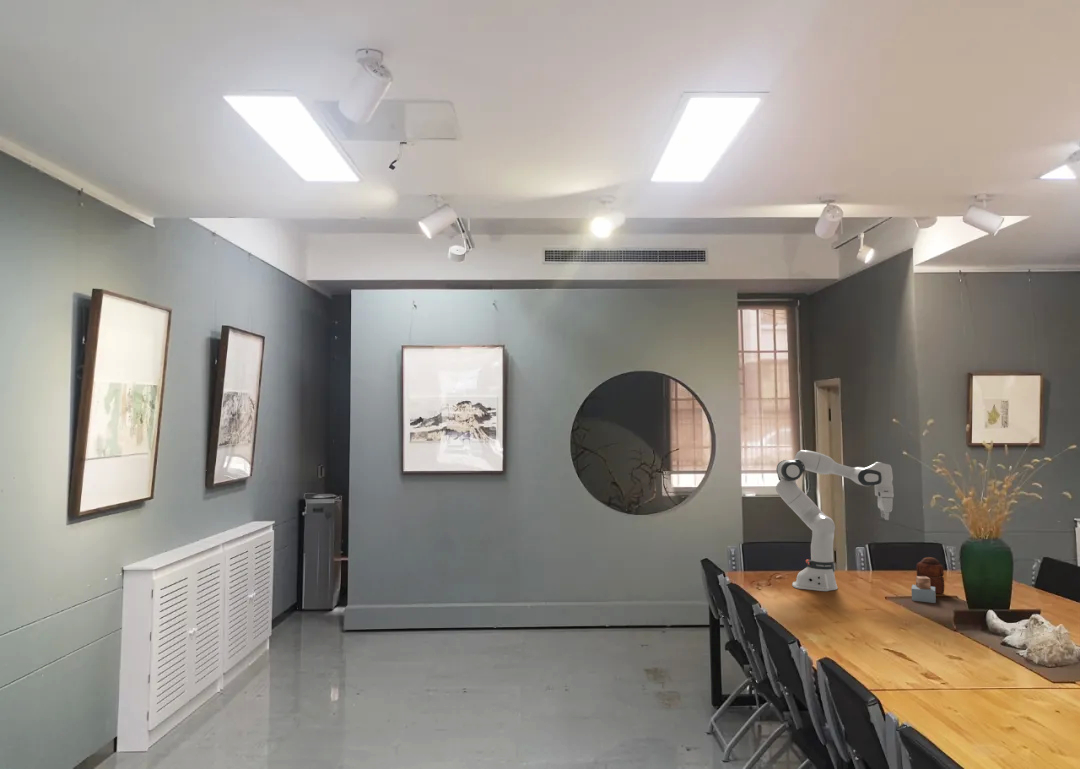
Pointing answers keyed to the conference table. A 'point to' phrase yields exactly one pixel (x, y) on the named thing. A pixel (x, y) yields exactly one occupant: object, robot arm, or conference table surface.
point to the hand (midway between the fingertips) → (885, 518)
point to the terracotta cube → (923, 582)
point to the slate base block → (923, 594)
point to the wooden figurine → (932, 573)
